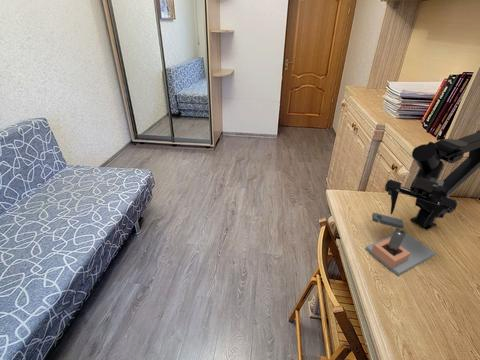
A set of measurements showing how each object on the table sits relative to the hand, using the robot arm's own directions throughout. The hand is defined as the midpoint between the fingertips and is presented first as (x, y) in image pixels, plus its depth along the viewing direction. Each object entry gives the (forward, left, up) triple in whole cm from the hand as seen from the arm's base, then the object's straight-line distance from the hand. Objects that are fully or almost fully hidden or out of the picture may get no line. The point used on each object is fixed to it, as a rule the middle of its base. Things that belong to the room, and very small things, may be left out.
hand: (407, 220), depth 81 cm
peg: (+5, +2, -12) cm, 13 cm away
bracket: (-11, -11, -14) cm, 21 cm away
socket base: (-1, +2, -13) cm, 13 cm away
